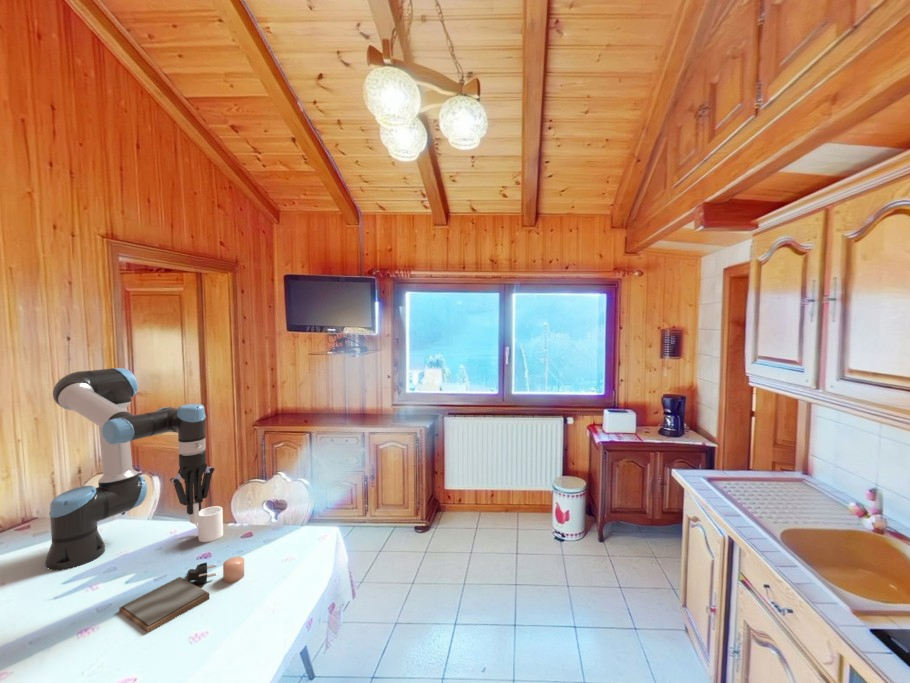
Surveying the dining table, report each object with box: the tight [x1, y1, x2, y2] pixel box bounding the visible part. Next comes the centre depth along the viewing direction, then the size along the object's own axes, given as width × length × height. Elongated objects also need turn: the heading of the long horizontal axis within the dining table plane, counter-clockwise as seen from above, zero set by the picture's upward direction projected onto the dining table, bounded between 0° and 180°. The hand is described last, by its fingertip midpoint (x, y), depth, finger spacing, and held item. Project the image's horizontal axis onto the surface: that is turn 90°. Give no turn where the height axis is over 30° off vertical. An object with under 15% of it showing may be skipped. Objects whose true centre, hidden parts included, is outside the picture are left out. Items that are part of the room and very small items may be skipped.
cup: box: [195, 505, 224, 543], centre depth 158 cm, size 8×12×10 cm
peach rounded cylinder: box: [222, 556, 245, 584], centre depth 132 cm, size 6×6×5 cm
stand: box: [119, 576, 210, 634], centre depth 118 cm, size 16×16×2 cm
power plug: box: [187, 562, 217, 585], centre depth 132 cm, size 6×8×12 cm
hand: (194, 522), depth 135 cm, fingers closed
